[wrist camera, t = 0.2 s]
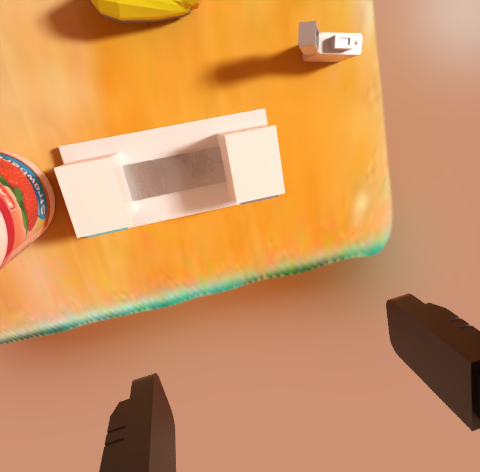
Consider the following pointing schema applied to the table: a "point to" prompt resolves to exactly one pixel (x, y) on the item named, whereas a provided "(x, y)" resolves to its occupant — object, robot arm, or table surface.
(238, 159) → the block
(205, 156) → the rail
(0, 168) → the fruit juice
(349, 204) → the table surface
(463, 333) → the robot arm
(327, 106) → the table surface
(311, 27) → the lighter
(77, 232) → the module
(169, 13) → the gaming controller
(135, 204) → the rail plate
